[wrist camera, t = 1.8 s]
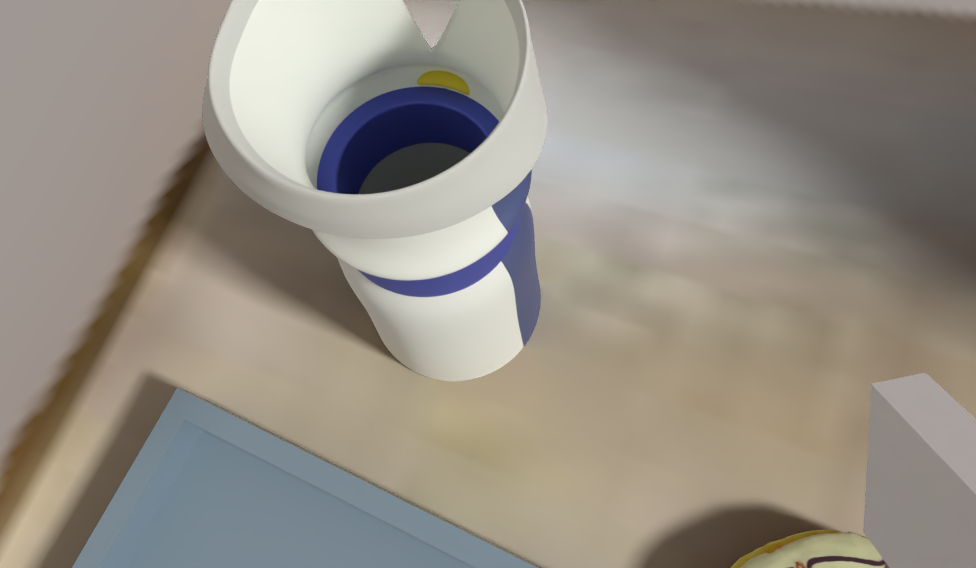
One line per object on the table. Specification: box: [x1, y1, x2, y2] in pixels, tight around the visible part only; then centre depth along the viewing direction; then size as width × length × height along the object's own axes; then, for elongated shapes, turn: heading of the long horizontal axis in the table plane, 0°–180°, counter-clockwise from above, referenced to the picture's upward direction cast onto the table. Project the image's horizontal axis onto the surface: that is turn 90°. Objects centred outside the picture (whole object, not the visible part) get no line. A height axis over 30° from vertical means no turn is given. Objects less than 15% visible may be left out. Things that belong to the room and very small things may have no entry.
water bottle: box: [202, 0, 548, 381], centre depth 25 cm, size 8×9×25 cm
